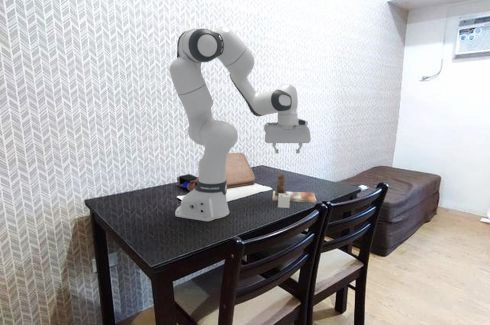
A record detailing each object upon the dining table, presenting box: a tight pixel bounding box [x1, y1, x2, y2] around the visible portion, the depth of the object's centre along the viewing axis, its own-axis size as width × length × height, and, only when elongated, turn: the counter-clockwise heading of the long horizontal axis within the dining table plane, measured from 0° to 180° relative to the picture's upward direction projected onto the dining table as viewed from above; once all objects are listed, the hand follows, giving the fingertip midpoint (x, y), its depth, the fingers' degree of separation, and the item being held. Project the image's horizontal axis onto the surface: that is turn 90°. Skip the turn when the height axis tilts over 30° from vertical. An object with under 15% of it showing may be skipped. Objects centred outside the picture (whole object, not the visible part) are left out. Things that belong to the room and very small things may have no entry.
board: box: [272, 190, 317, 204], centre depth 145 cm, size 20×11×1 cm, turn 83°
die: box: [277, 193, 291, 209], centre depth 134 cm, size 5×5×5 cm
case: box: [226, 152, 256, 189], centre depth 168 cm, size 20×21×16 cm
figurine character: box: [176, 173, 199, 192], centre depth 156 cm, size 7×8×15 cm
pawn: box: [274, 173, 286, 196], centre depth 145 cm, size 5×5×10 cm
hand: (287, 153), depth 133 cm, fingers open, 8 cm apart
